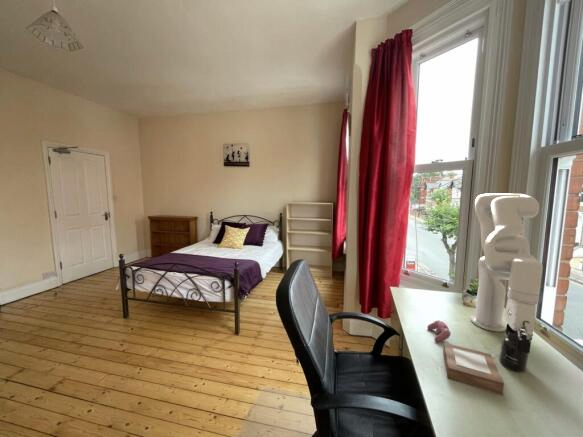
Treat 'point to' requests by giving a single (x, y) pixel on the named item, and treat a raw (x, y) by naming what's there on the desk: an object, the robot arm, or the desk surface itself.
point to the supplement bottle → (513, 353)
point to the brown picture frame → (472, 368)
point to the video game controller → (440, 330)
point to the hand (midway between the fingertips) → (516, 343)
